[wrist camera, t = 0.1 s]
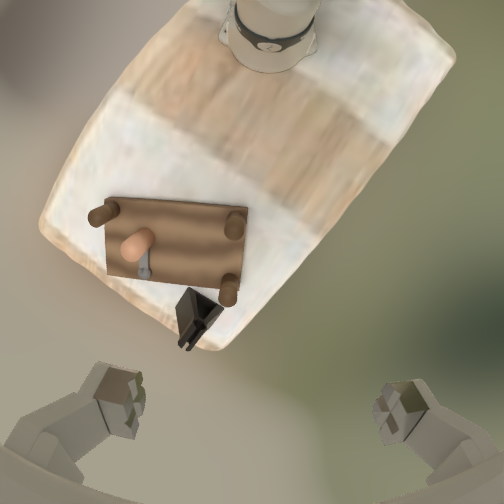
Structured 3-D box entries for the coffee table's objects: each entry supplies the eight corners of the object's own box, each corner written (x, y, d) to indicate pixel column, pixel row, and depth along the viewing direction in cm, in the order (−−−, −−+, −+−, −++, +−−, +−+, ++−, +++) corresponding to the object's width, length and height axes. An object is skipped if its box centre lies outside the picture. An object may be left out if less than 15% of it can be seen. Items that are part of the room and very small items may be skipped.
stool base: (110, 196, 53) (85, 206, 43) (247, 207, 55) (248, 219, 45) (112, 269, 58) (91, 290, 48) (239, 284, 60) (238, 310, 50)
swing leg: (154, 278, 55) (143, 296, 48) (136, 276, 55) (123, 293, 48) (154, 228, 52) (141, 240, 45) (135, 227, 52) (120, 238, 45)
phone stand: (175, 306, 61) (162, 337, 50) (188, 286, 60) (176, 316, 48) (210, 326, 63) (204, 360, 52) (224, 308, 62) (220, 341, 50)
